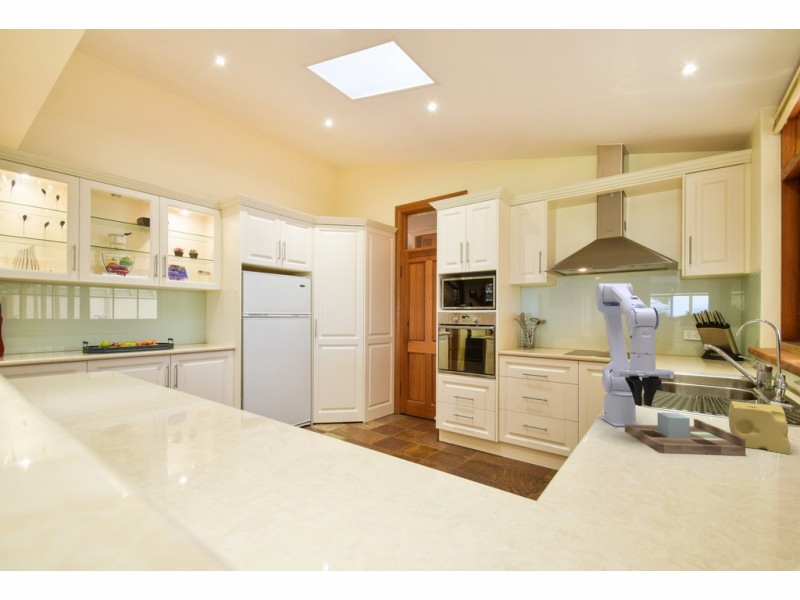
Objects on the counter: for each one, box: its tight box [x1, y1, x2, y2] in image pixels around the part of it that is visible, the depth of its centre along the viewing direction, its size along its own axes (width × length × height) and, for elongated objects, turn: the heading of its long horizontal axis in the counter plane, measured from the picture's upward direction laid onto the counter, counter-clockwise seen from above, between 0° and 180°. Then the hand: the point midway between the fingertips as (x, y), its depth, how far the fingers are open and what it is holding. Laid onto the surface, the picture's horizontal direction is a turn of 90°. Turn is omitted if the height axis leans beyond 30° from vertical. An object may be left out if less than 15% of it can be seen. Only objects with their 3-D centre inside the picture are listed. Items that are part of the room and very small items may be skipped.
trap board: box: [624, 418, 747, 457], centre depth 102 cm, size 17×19×4 cm
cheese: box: [728, 400, 791, 455], centre depth 101 cm, size 10×11×10 cm
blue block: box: [657, 412, 691, 438], centre depth 102 cm, size 5×5×5 cm
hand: (642, 405), depth 103 cm, fingers closed
